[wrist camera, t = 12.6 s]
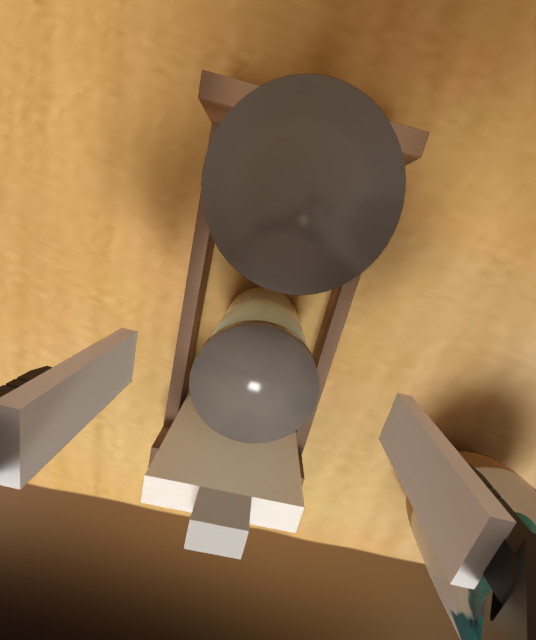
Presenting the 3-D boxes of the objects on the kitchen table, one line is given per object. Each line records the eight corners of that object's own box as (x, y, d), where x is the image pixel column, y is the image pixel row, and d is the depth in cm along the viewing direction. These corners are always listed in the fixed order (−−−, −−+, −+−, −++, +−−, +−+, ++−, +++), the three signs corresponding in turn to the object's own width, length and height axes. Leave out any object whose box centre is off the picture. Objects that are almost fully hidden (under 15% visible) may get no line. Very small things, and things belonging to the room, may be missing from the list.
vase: (422, 533, 31) (648, 983, 12) (369, 466, 28) (548, 896, 10) (518, 485, 29) (959, 935, 10) (469, 410, 26) (922, 813, 8)
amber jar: (346, 177, 21) (438, 106, 9) (319, 274, 23) (366, 313, 11) (250, 152, 21) (221, 46, 9) (230, 252, 23) (186, 271, 11)
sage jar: (307, 295, 24) (336, 343, 13) (288, 363, 25) (299, 454, 15) (233, 277, 23) (201, 312, 13) (218, 347, 25) (179, 429, 14)
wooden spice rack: (386, 160, 21) (429, 132, 15) (293, 453, 28) (298, 509, 22) (222, 117, 20) (202, 69, 14) (170, 427, 27) (142, 478, 22)
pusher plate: (292, 407, 26) (308, 542, 15) (287, 426, 27) (298, 570, 15) (192, 386, 26) (127, 507, 14) (189, 405, 26) (123, 537, 15)
